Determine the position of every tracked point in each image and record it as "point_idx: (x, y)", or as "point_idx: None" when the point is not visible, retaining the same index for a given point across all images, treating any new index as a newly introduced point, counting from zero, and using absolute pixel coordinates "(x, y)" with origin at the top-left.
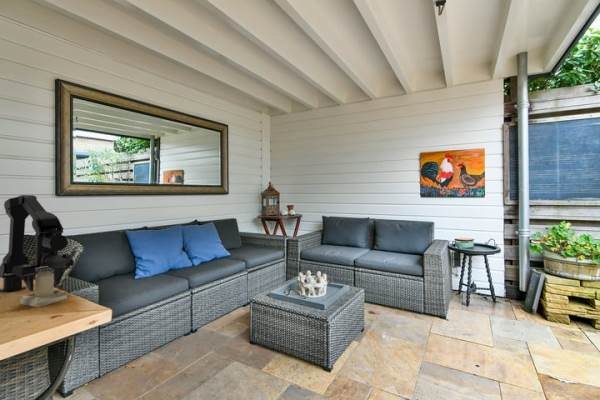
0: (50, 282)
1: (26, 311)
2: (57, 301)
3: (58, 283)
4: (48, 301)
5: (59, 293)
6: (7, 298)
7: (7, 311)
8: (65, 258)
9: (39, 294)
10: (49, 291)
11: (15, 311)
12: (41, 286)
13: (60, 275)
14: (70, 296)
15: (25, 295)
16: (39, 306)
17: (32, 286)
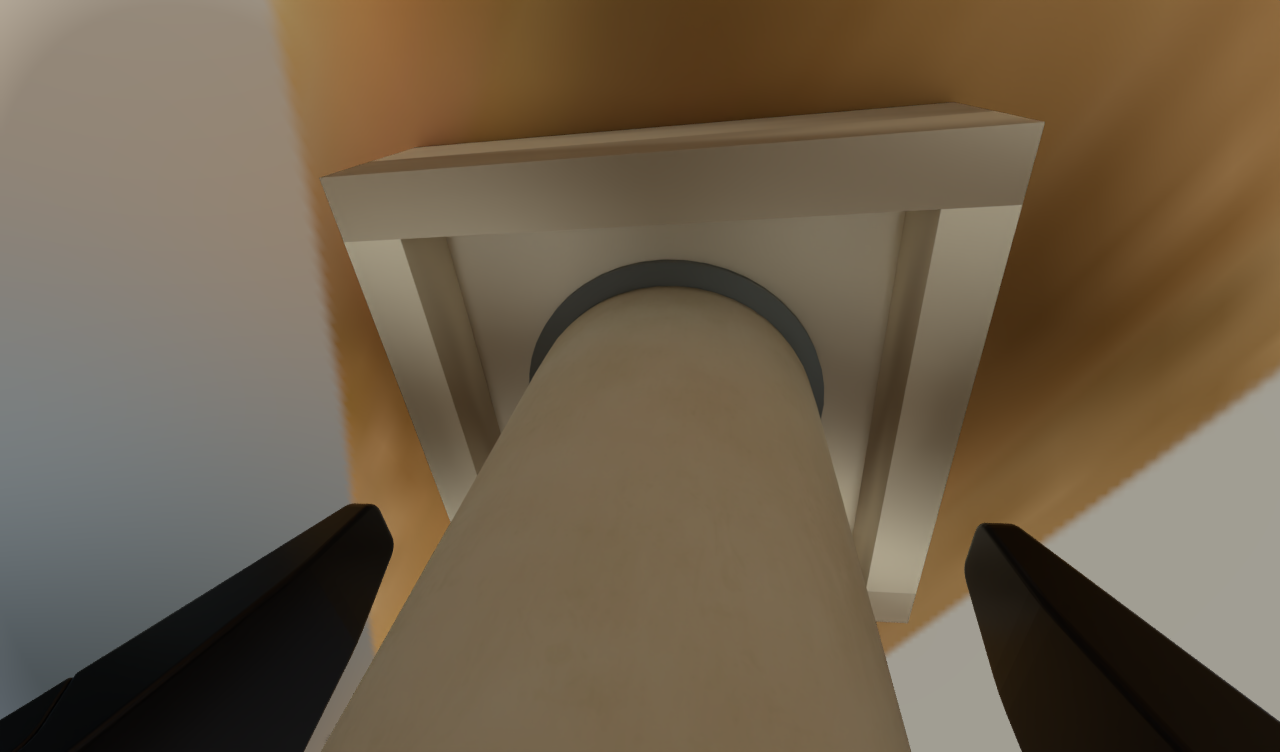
0: (574, 521)
1: (1262, 53)
2: (591, 133)
3: (333, 519)
4: (777, 122)
5: (502, 166)
6: None
7: (1233, 382)
8: None
9: (813, 409)
10: (650, 341)
11: (1243, 266)
12: (834, 528)
13: (65, 733)
14: (331, 235)
15: None
16: (958, 104)
17: (1119, 640)
